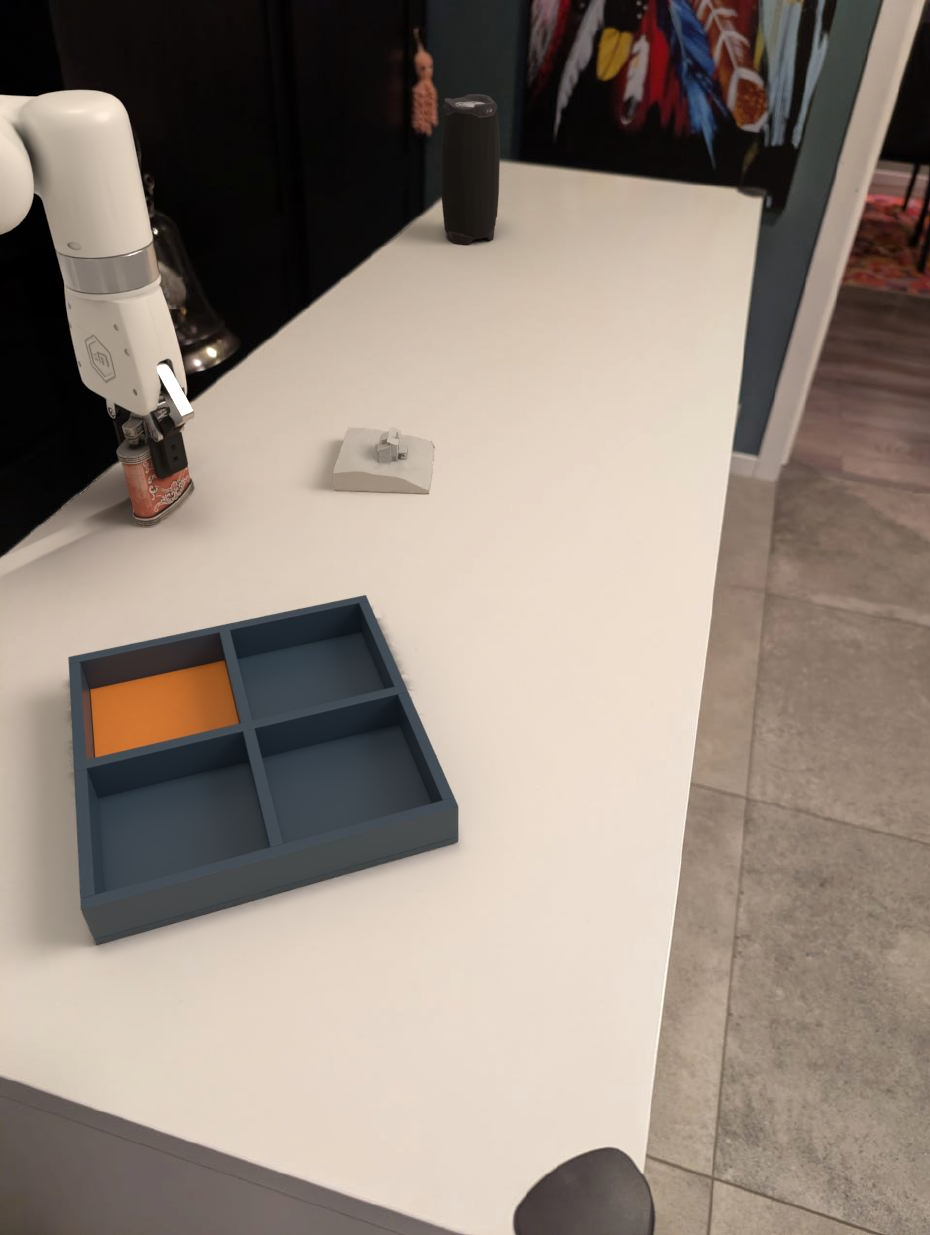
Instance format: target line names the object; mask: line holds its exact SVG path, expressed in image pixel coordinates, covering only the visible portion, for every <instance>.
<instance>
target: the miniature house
mask: <svg viewBox="0 0 930 1235" xmlns="http://www.w3.org/2000/svg"><path fill="white" fill-rule="evenodd" d="M401 433H402V430H400V429H397V428H395V427H392V426H390V427H389V431H385V430H381V429H375V428H367V427H353V426H352V427H351V426H348V427H347V430H346V431H345V434H344V437H343V440H342V444H341V447H340V449H339V453H338V455H337V459H336V461H335V465H334V468H333V470H332V474H331V475H332V483H333V490H334V491H339V492H341V491H342V492H343V491H344V492H345V491H346V492H369V493H371V492H372V493H398V494H399V493H402V494H424V495H426V494H430V491H431V490H430V489H431V484H432V479H433V478H432V477H433V465H434V464H433V462H435V461H434V460H435V449H436V447H435V445H434V442H433V441H432V440H429V439H425V438H420V437H417V436H414V435H409V434H408V435H407V434H401Z"/></svg>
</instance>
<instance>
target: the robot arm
mask: <svg viewBox="0 0 930 1235" xmlns="http://www.w3.org/2000/svg"><path fill="white" fill-rule="evenodd" d="M126 109H127V108H126V107H125V106H124V104H123V103H122V101H121V100H120V99H119V98H117V97H116V96H114V95H113V94H111V93H107V92H104V91H99V90H92V89H91V90H90V89H72V90H71V89H70V90H59V91H53V92H47V93H43V94H40V95H38V96H26V95H8V94H7V95H6V94H0V235H4V234H5V233H9V232H11V231H12V230H13V229H14V228H16V227H17V226H19V225H20V224H21V222H23V220H24V219H26V216H27V215H28V213H29V211H30V210H31V207H32V204H33V200H34V194H35V195H37V196H39V198H40V199H41V201H42V204H43V208H44V212H45V215H46V220H47V223H48V227H49V231H50V234H51V239H52V242H53V246H54V249H55V253H56V257H57V260H58V264H59V268H60V272H61V275H62V279H63V284H64V299H65V308H66V313H67V314H66V315H67V321H68V326H69V332H70V336H71V341H72V345H73V350H74V354H75V359H76V362H77V363H76V364H77V367H78V371H79V375H80V378H81V381H82V384H84V385H85V387H87V389H89V390H90V391H92V392H94V393H95V394H97V395H99V396H100V397H102V398H104V399H105V400H106V401H105V402H106V408H107V413H108V414H109V416H110V417H111V418H112V419H113V420H112V423H113V426H114V430H115V434H116V438H117V442H118V447H119V446H120V445H121V444H122V442H123V441H124V440H125V439H126V437H125V436H124V432H123V428H122V426H123V424H125V423H126V422H127V421H129V419H130V414H131V412H133V413H135V414H138V415H142V416H144V418H145V420H146V423H147V426H148V429H149V431H150V434H151V437H152V438H150V439H148V445H149V449H150V453H151V457H152V462H153V466H154V470H155V475H156V477H158V478H160V479H164V478H167V477H169V476H171V475H173V474H175V473H177V472H179V471H181V470H183V469H185V468H187V466H188V467H189V460H188V456H187V452H186V451H187V450H186V447H185V442H184V438H183V431H185V425H186V424H187V422H189V421H190V420H192V419H193V418H195V411H194V409H193V408H192V405H191V404H190V402H189V400H188V398H187V394H188V385H187V379H186V378H187V377H186V372H185V367H184V362H183V357H182V353H181V348H180V344H179V341H178V337H177V334H176V330H175V326H174V323H173V322H174V321H173V319H172V315H171V313H170V309H169V307H168V303H167V300H166V297H165V295H164V292H163V289H162V287H161V286H160V285H161V283H162V276H161V270H160V267H159V266H160V265H159V262H158V256H157V252H156V246H155V241H154V235H153V231H152V227H151V220H150V216H149V211H148V206H147V201H146V196H145V190H144V186H143V180H142V174H141V170H140V165H139V160H138V156H137V151H136V145H135V139H134V135H133V130H132V125H131V122H130V118H129V114H128V111H127V110H126ZM159 396H163V398H161V399H159ZM164 408H166V411H167V412H166V415H167V416H165V417H163V418H162V419H161V421H160V422H158V419H157V416H156V413H155V412H157V411H160V410H162V409H164Z"/></svg>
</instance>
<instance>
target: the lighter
mask: <svg viewBox="0 0 930 1235" xmlns="http://www.w3.org/2000/svg"><path fill="white" fill-rule="evenodd" d="M161 398H163V395H159V399H161ZM155 413H156V416H157V419H158V422H160V421H161V419H162V418H163V417H165V416H167V415H168V414H167V411H166V408H164V409H162V410H160V411H157V412H155ZM122 428H123V432H124V436H125V437H126V439H125V440H124V441H123V442H122V444H121V445H120V446H119V445H118V447H117V449H116V456H117V459H118V461H119V462H120V463H121V466H122V470H123V474H124V478H125V482H126V485H127V490H128V494H129V497H130V501H131V505H132V509H133V511H132V518H133V521H134V524H135V525H136V526H138V527H141V528H152V527H157V526H158V525H160V524H161V523H163V522H164V521H166V520H167V519H169V518H170V517H171V516H173V515H174V514H175V513H176V512H177V511H178V510H179V509H181V508H182V507H183V505H184V504H185V503H186V502H187V501H188V500H189V498H190V497H191V496H192V494H193V493H194V490H195V484H194V480H193V478H192V477H191V475H190V471H189V470H190V469H189V465H188V466H187V468H185V469H183V470H181V471H179V472H177V473H175V474H173V475H171V476H169V477H167V478H164V479H160V478H158V477H156V475H155V470H154V466H153V462H152V457H151V453H150V449H149V445H148V439H150V438H152V437H151V434H150V431H149V429H148V426H147V423H146V420H145V418H144V416H142V415H138V414H135V413H133V412H131V414H130V419H129V421H127V422H126V423H125V424H123V426H122Z"/></svg>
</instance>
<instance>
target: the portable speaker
mask: <svg viewBox="0 0 930 1235" xmlns="http://www.w3.org/2000/svg"><path fill="white" fill-rule="evenodd" d="M498 110H499V109H498V103H497V102H495V101H494V100H493V98H492V97H491V96H490V95H486V94H483V93H482V94H480V93H473V94H472V93H471V94H466V95H464V96H460V97H456V98H451V97H446V98H444V104H443V111H444V112H443V121H442V127H441V128H442V129H441V136H440V197H441V208H442V216H443V227H444V228H443V229H444V231H445V234H446V237H447V240H448V241H450V242H452V243H454V244H459V245H465V246H466V245H467V246H469V245H470V244H472V242H473V241H474V240H479V239H484V238H485V239H486V240H487V241H493V240H494V238H495V230H496V229H495V227H496V223H497V218H498V210H499V196H500V195H499V194H500V167H501V166H500V165H501V163H500V162H501V135H500V122H499V121H500V120H499V111H498Z"/></svg>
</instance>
